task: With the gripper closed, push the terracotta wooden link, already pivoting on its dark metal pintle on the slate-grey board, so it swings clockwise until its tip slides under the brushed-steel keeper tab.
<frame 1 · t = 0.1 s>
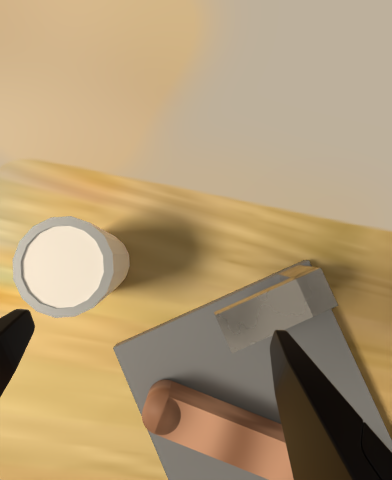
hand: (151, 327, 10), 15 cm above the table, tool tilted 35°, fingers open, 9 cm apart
board: (253, 398, 24), on the table
white pedestal piece: (100, 262, 25), on the table
link: (249, 446, 21), point 3 cm above the table, hinge at 45.0°
keeper: (259, 298, 25), resting on board
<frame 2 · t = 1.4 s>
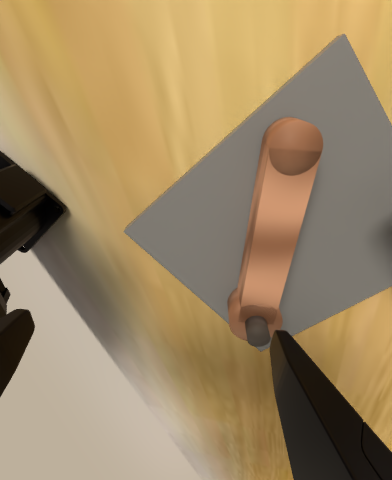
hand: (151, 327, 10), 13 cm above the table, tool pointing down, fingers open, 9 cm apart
board: (286, 236, 22), on the table
link: (269, 253, 19), point 3 cm above the table, hinge at 45.0°
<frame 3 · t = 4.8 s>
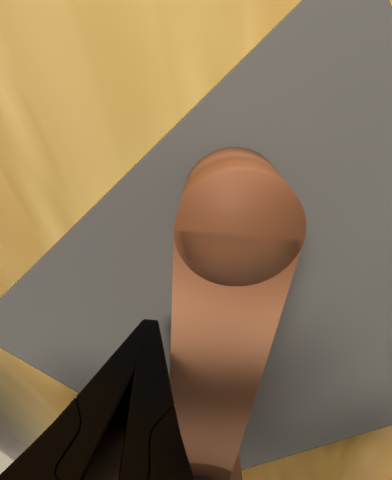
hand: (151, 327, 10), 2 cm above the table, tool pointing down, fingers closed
board: (251, 336, 13), on the table
link: (209, 397, 10), point 3 cm above the table, hinge at 44.8°, touching gripper
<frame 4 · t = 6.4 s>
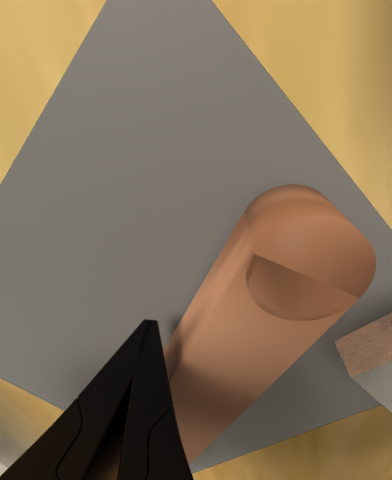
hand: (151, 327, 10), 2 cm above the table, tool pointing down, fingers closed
board: (183, 330, 13), on the table
link: (191, 404, 10), point 3 cm above the table, hinge at 20.2°, touching gripper
keeper: (385, 295, 11), resting on board
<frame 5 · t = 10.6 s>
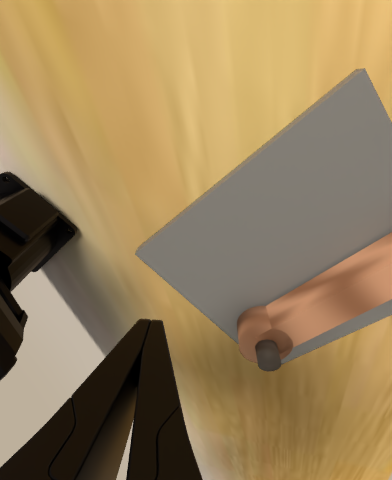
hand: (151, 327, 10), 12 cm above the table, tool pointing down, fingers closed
board: (297, 259, 22), on the table
link: (337, 304, 20), point 3 cm above the table, hinge at 1.5°
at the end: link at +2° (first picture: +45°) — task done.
